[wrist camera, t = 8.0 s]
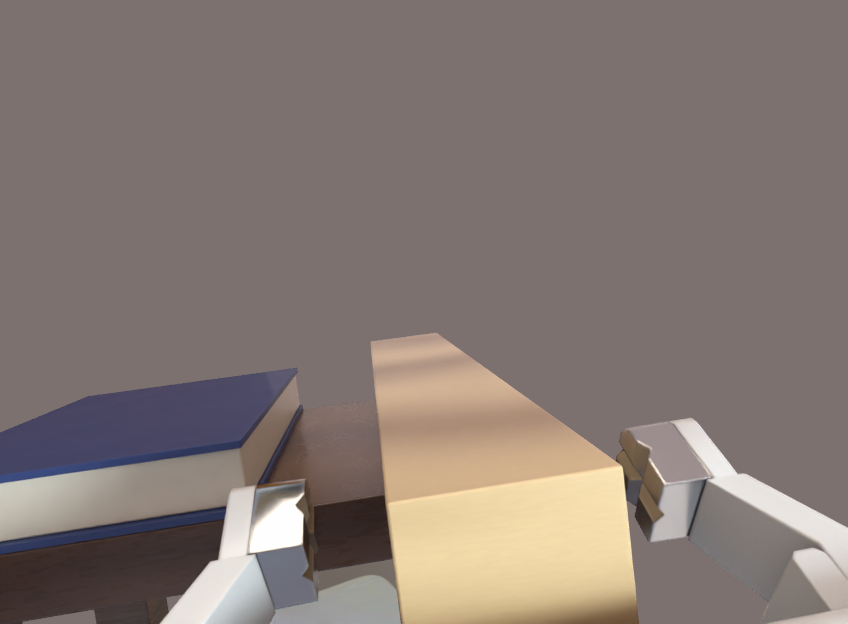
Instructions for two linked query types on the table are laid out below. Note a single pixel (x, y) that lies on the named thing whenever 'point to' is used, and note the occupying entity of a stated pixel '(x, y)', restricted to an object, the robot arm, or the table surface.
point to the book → (141, 458)
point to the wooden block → (494, 499)
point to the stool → (213, 532)
